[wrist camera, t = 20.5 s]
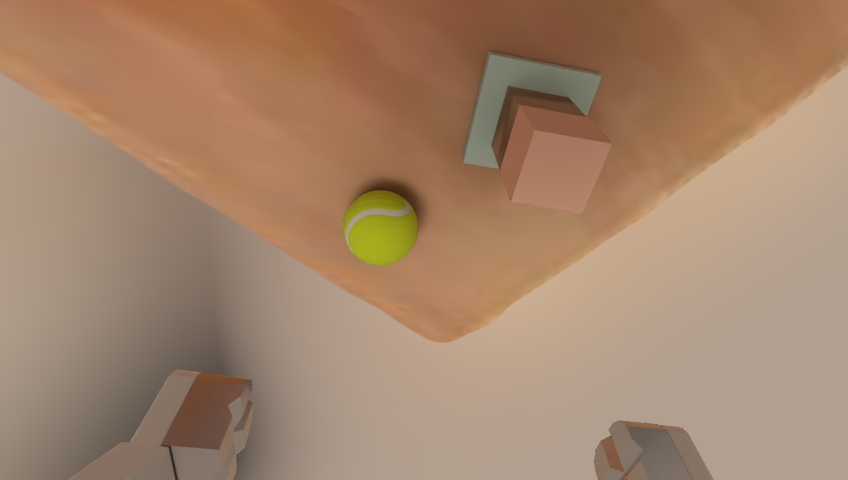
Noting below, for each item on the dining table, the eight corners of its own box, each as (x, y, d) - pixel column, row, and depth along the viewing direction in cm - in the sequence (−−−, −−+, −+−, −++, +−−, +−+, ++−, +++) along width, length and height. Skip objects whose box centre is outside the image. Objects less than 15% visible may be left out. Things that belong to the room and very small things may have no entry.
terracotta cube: (519, 104, 31) (534, 130, 27) (587, 117, 32) (613, 144, 28) (500, 170, 34) (510, 202, 30) (563, 180, 34) (582, 213, 30)
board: (488, 51, 35) (490, 54, 34) (597, 72, 36) (602, 76, 35) (462, 157, 40) (463, 162, 39) (558, 173, 41) (562, 179, 40)
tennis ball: (342, 229, 44) (331, 271, 39) (355, 169, 41) (344, 206, 35) (408, 244, 45) (406, 287, 40) (426, 187, 42) (427, 225, 36)
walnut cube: (507, 85, 35) (519, 105, 31) (568, 97, 36) (587, 117, 32) (491, 145, 38) (499, 170, 34) (547, 155, 39) (563, 181, 34)
